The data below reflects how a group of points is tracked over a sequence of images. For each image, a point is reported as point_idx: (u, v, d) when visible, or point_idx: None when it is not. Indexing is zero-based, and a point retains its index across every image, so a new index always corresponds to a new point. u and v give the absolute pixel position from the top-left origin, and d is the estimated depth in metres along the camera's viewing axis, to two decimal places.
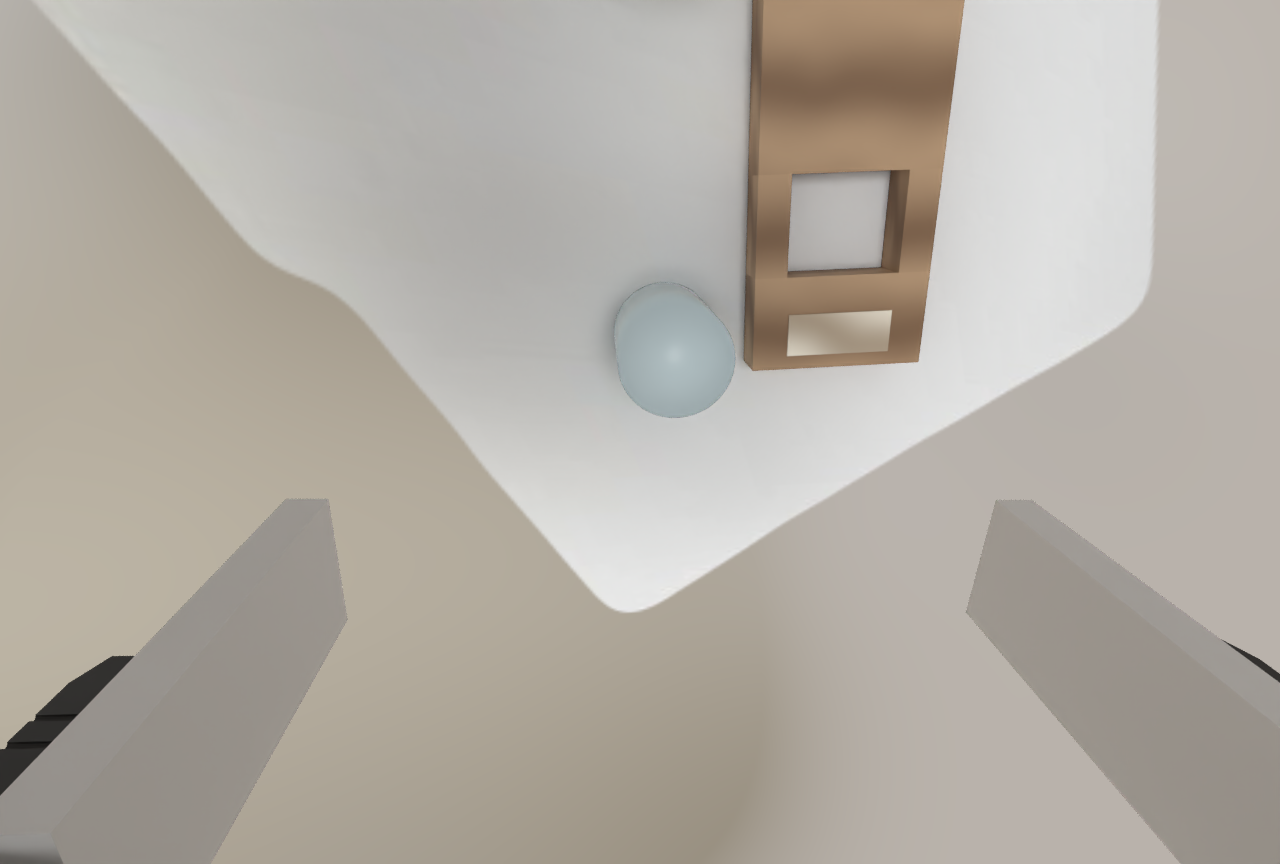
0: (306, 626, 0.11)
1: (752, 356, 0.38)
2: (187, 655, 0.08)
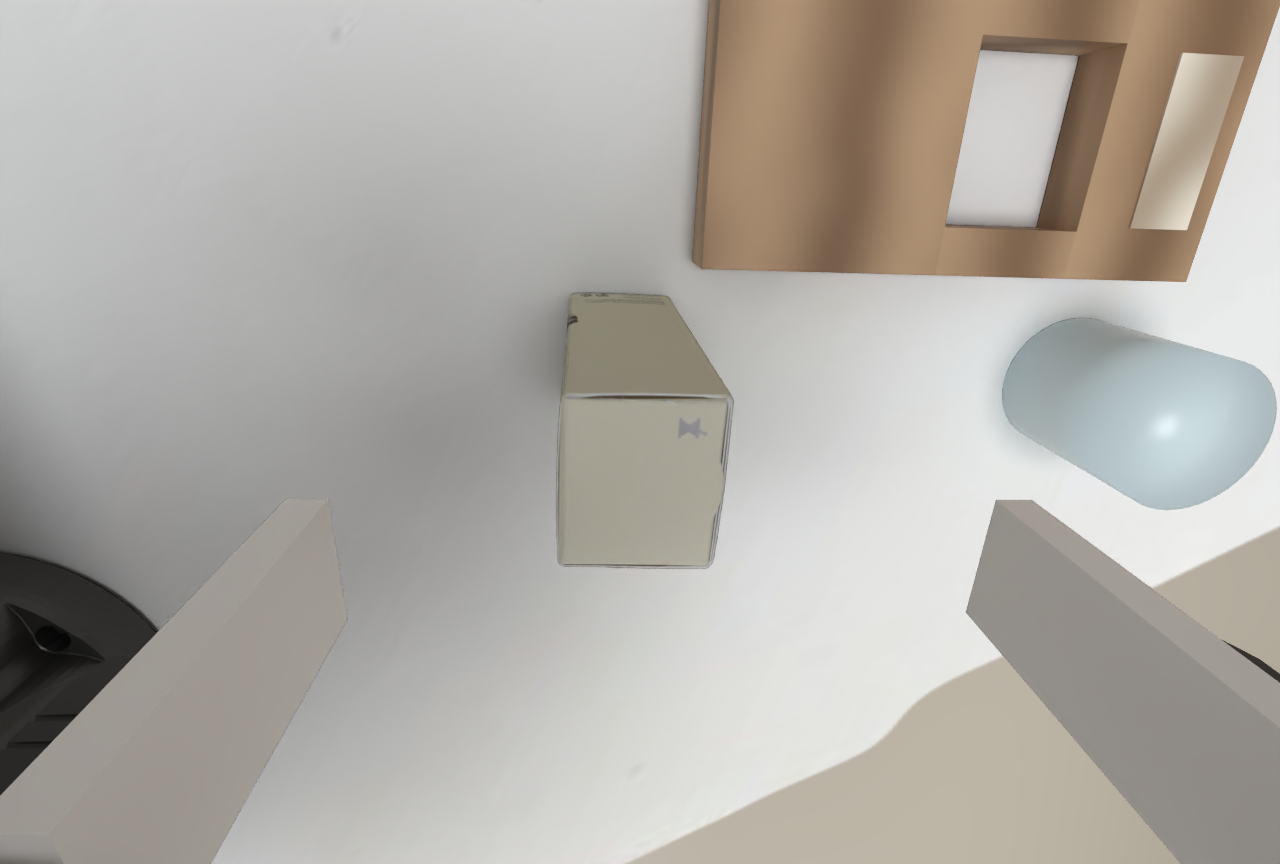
0: (306, 626, 0.11)
1: (1164, 280, 0.26)
2: (187, 655, 0.08)
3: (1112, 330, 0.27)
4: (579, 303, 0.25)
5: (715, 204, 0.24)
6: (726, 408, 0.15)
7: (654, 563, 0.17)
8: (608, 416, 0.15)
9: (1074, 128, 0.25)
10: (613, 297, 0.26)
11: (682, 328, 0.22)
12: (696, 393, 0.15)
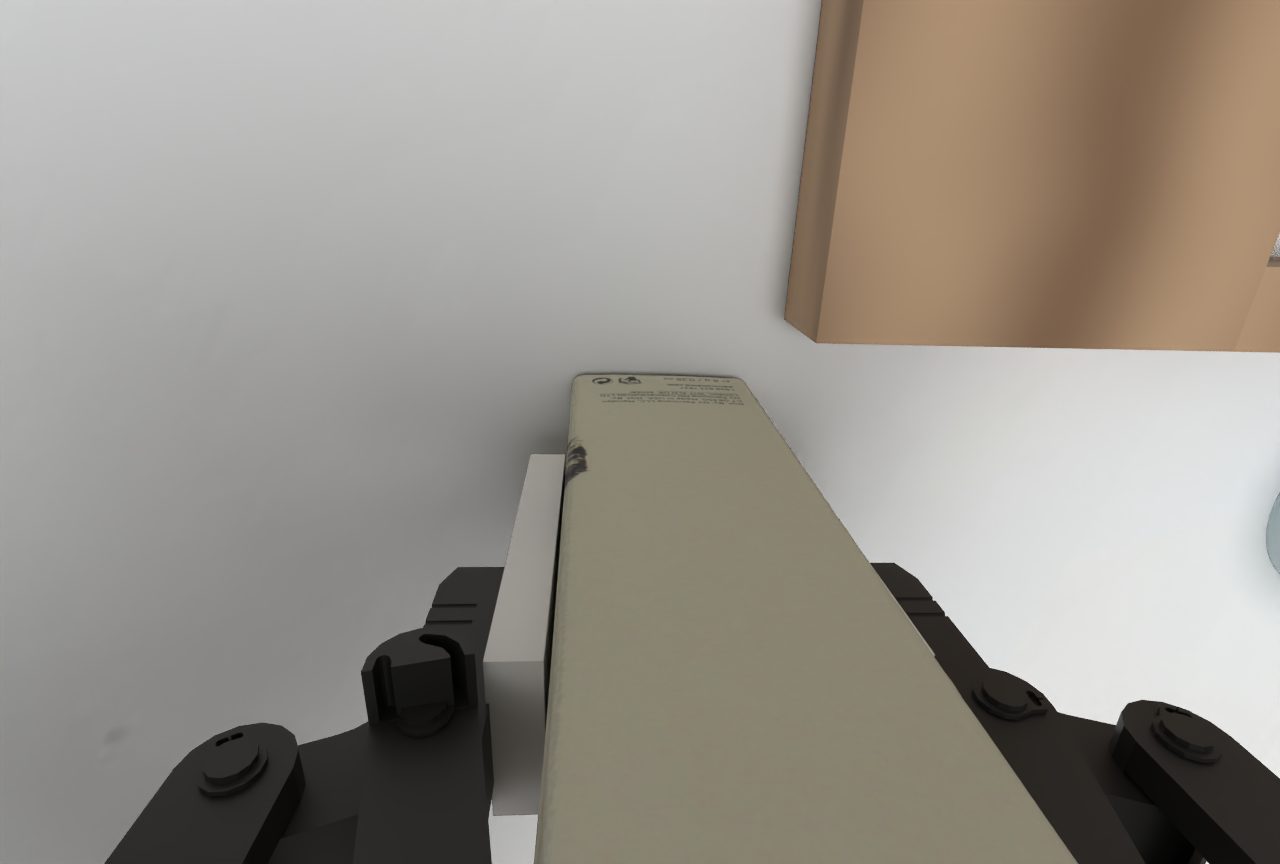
0: None
1: None
2: (545, 558, 0.10)
3: None
4: (589, 404, 0.14)
5: (849, 225, 0.12)
6: None
7: None
8: None
9: None
10: (649, 386, 0.15)
11: (804, 487, 0.10)
12: None
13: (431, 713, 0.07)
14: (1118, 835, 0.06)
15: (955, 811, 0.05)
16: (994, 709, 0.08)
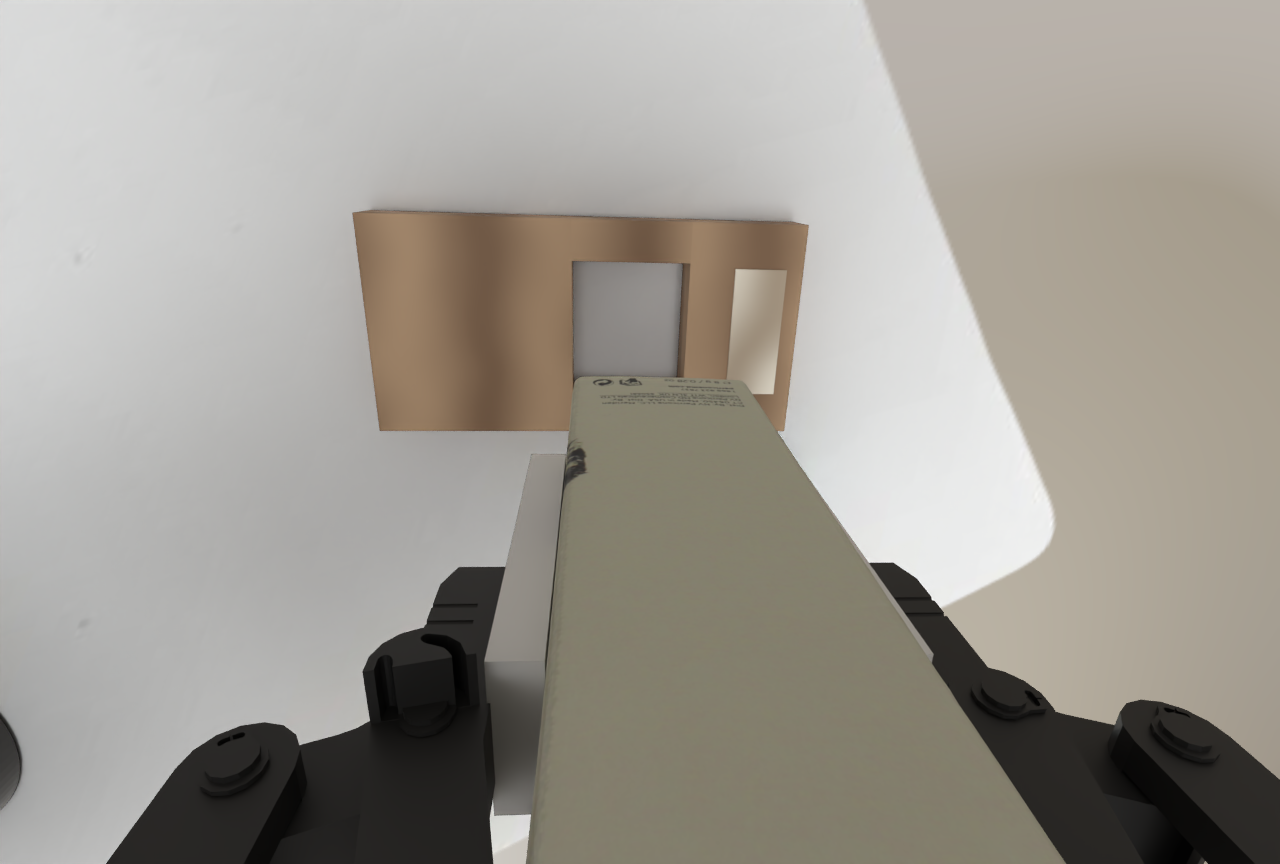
0: None
1: None
2: (546, 559, 0.10)
3: None
4: (590, 406, 0.14)
5: (381, 384, 0.30)
6: None
7: None
8: None
9: (682, 314, 0.32)
10: (650, 387, 0.15)
11: (803, 490, 0.10)
12: None
13: (433, 713, 0.07)
14: (1116, 835, 0.06)
15: (947, 817, 0.05)
16: (993, 709, 0.08)
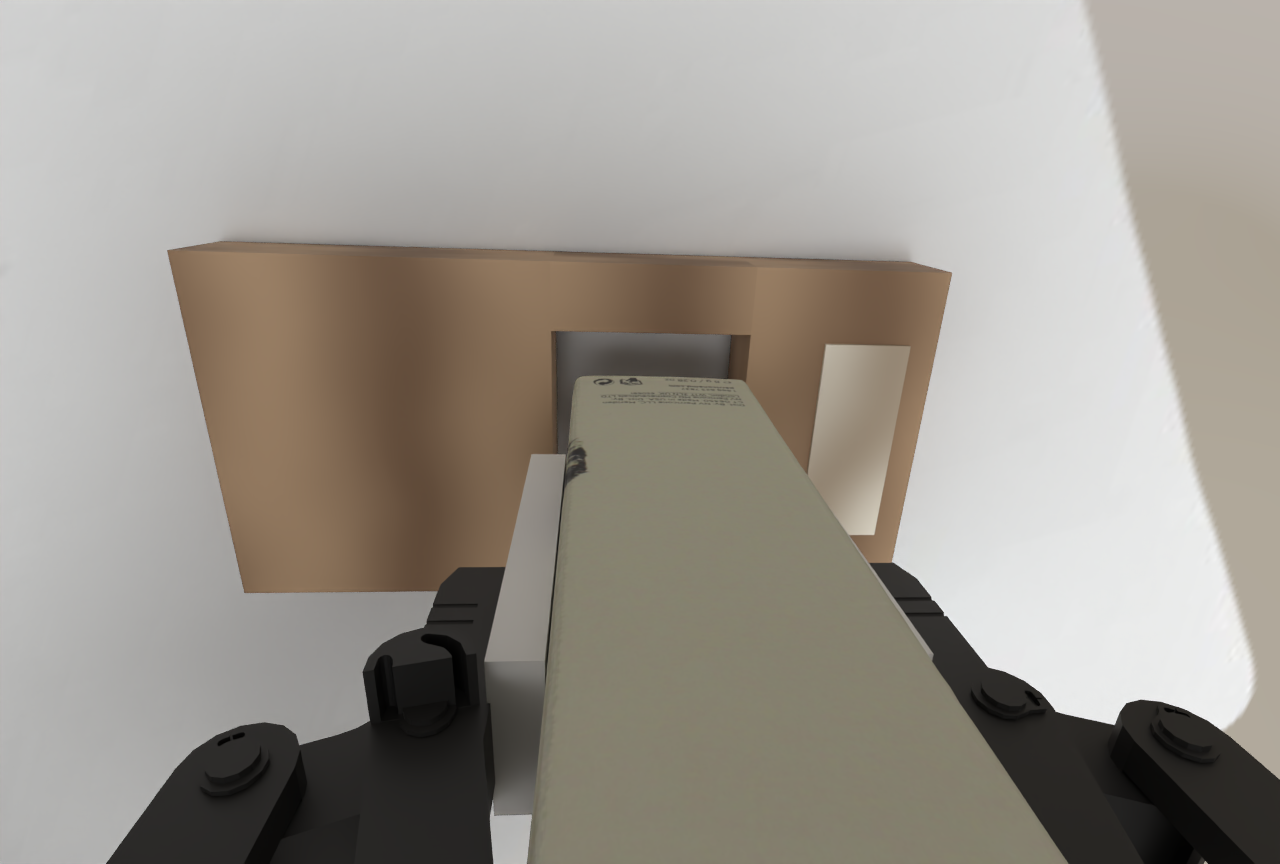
0: None
1: None
2: (546, 558, 0.10)
3: None
4: (590, 405, 0.14)
5: (241, 525, 0.19)
6: None
7: None
8: None
9: None
10: (650, 387, 0.15)
11: (804, 489, 0.10)
12: None
13: (433, 713, 0.07)
14: (1116, 834, 0.06)
15: (949, 816, 0.05)
16: (992, 709, 0.08)
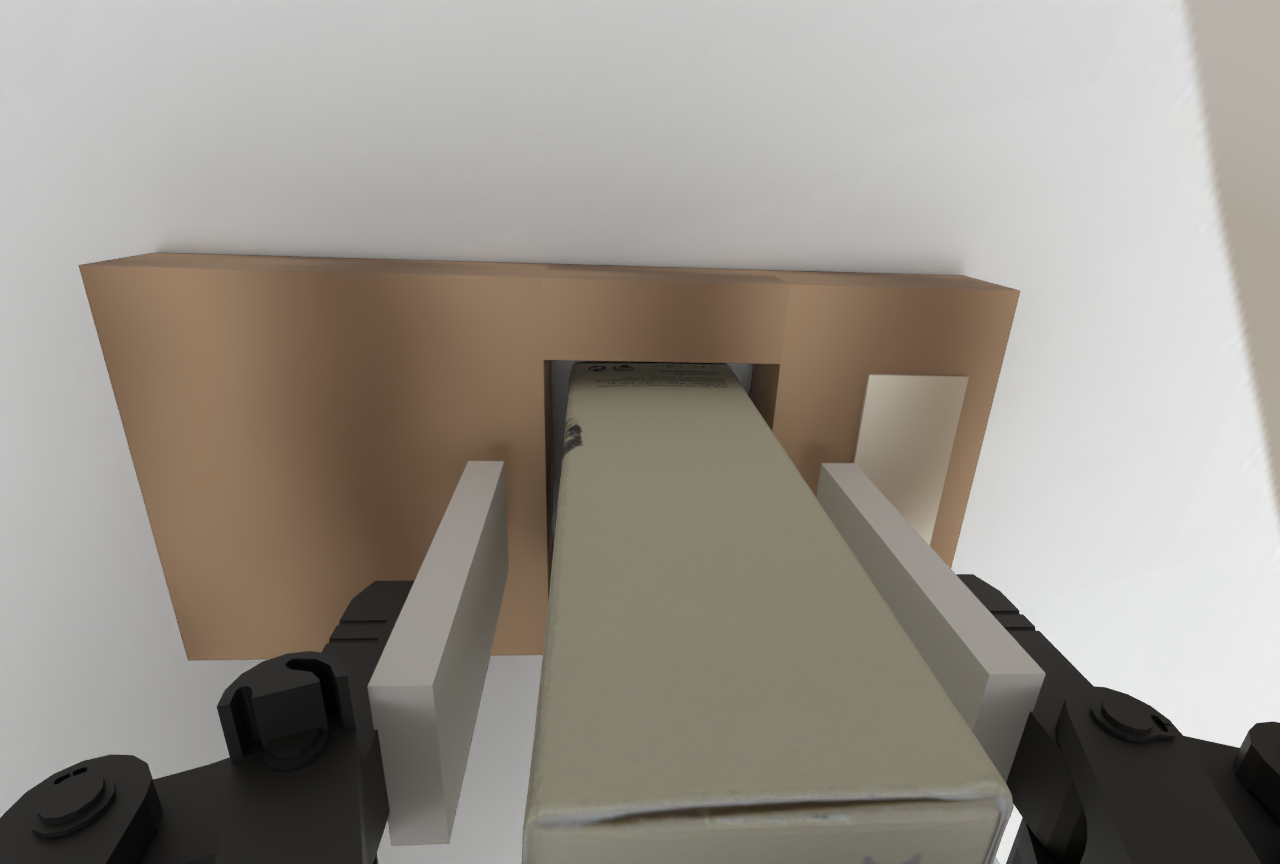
0: (496, 568, 0.13)
1: None
2: (459, 573, 0.10)
3: None
4: (585, 389, 0.15)
5: (181, 584, 0.16)
6: (997, 826, 0.05)
7: None
8: None
9: None
10: (641, 372, 0.16)
11: (776, 456, 0.12)
12: (910, 785, 0.05)
13: (301, 742, 0.07)
14: None
15: (876, 695, 0.06)
16: (1115, 729, 0.07)
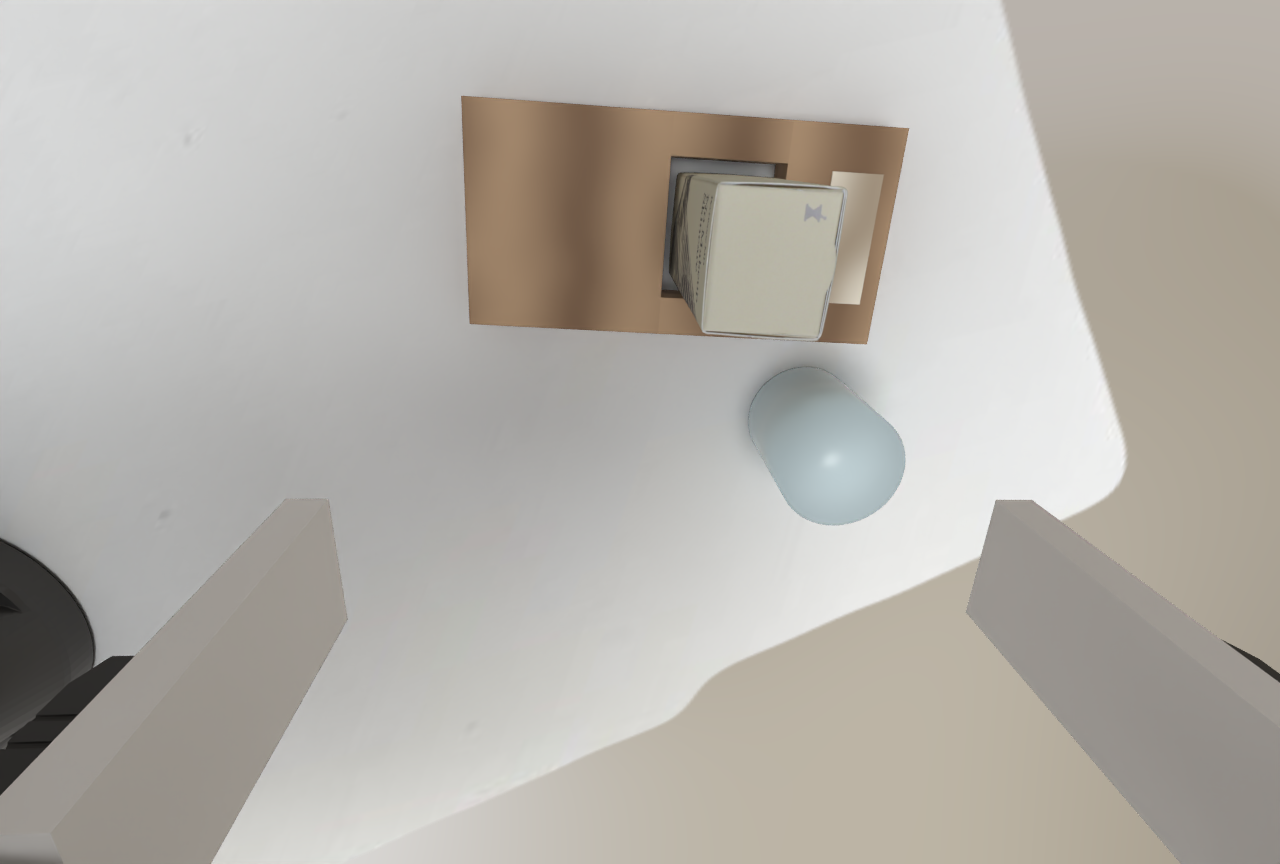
0: (306, 626, 0.11)
1: (849, 342, 0.33)
2: (187, 655, 0.08)
3: (810, 380, 0.33)
4: (690, 173, 0.29)
5: (475, 276, 0.31)
6: (842, 197, 0.20)
7: (776, 332, 0.22)
8: (753, 200, 0.20)
9: None
10: None
11: None
12: (819, 185, 0.20)
13: None
14: None
15: None
16: None
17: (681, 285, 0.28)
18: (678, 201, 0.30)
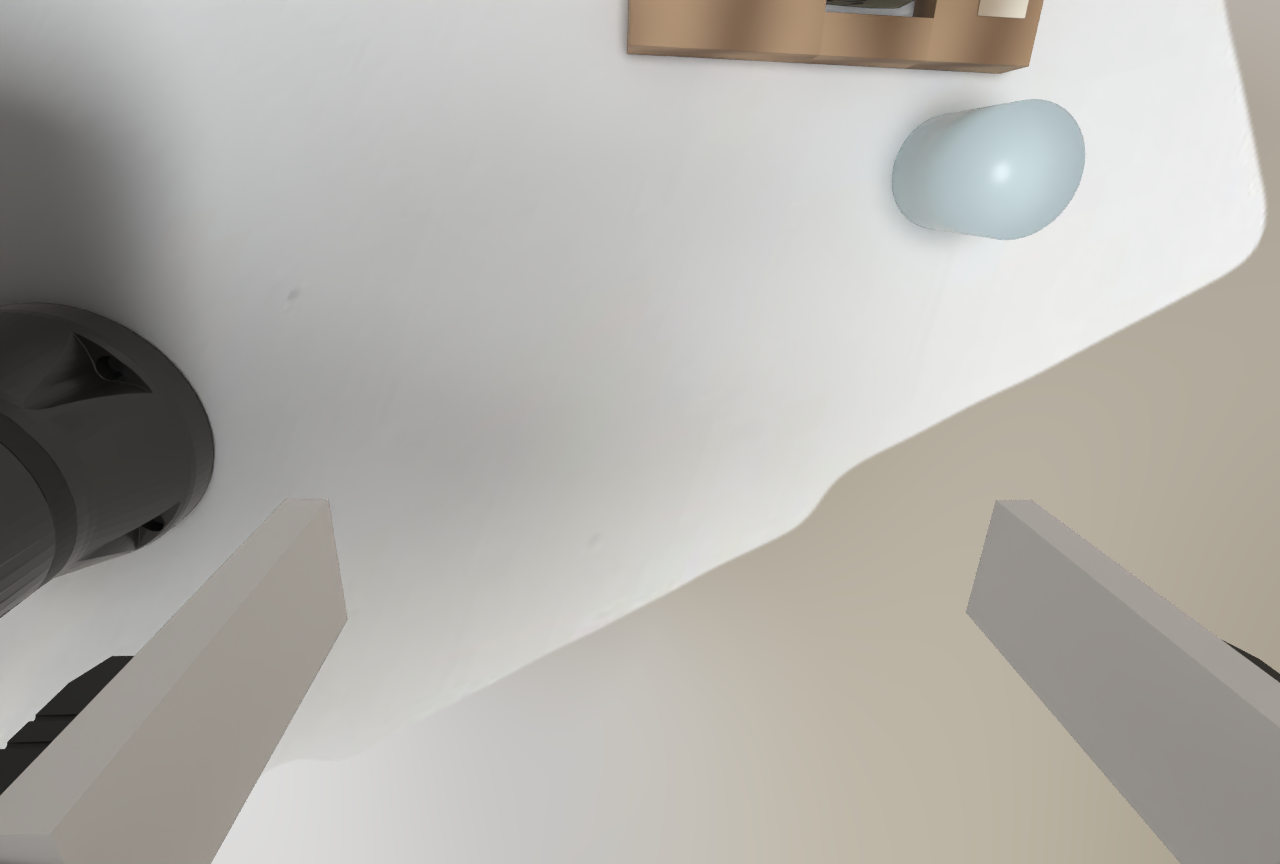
0: (306, 626, 0.11)
1: (1011, 65, 0.32)
2: (187, 655, 0.08)
3: (967, 110, 0.33)
4: None
5: None
6: None
7: None
8: None
9: None
10: None
11: None
12: None
13: None
14: None
15: None
16: None
17: None
18: None
